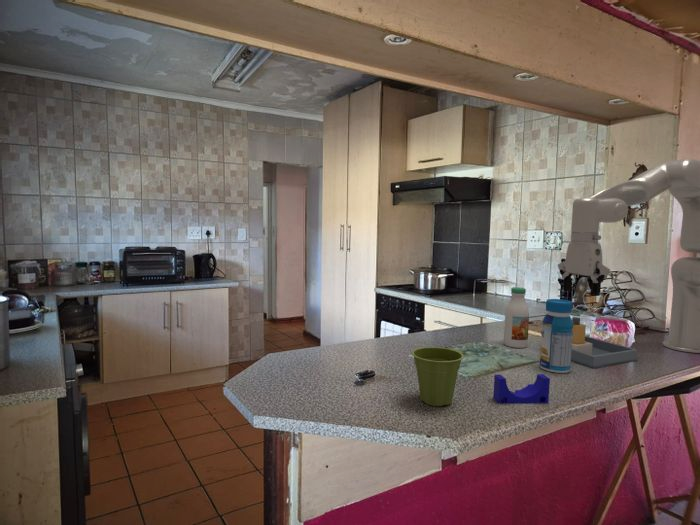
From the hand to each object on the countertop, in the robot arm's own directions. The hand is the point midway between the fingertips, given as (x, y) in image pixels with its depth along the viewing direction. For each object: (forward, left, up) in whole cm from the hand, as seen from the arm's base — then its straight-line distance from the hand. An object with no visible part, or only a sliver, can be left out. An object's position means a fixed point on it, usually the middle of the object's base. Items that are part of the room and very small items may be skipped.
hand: (580, 293), depth 138 cm
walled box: (-4, +1, -20) cm, 21 cm away
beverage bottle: (+17, +6, -21) cm, 27 cm away
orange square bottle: (+1, 0, -20) cm, 20 cm away
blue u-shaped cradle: (+44, +19, -21) cm, 52 cm away
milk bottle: (+9, -17, -21) cm, 28 cm away
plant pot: (+63, +12, -21) cm, 67 cm away
